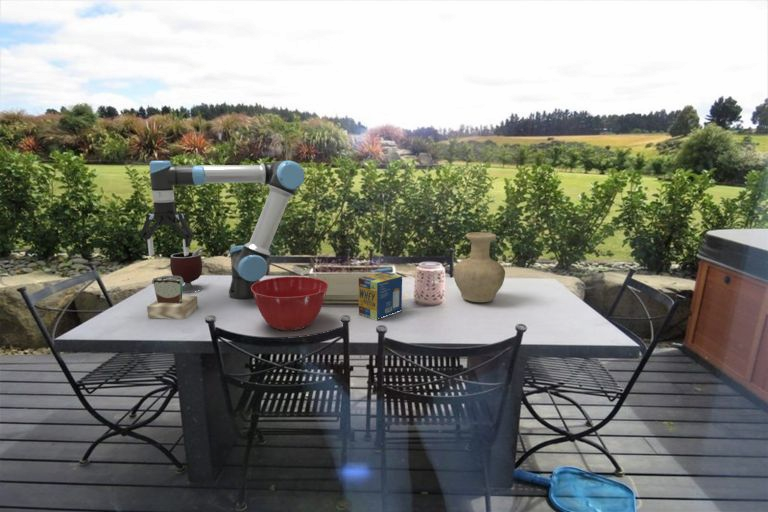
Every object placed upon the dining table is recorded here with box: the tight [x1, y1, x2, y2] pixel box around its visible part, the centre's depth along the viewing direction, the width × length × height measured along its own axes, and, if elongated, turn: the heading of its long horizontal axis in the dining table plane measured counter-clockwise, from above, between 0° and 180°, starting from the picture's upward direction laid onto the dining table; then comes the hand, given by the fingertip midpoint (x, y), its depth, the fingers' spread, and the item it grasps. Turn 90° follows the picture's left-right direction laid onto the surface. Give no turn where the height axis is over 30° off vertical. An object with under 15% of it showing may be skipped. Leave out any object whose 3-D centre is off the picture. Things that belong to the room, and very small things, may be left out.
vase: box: [453, 231, 506, 303], centre depth 201 cm, size 22×22×30 cm
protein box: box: [358, 271, 403, 320], centre depth 184 cm, size 10×15×16 cm
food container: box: [151, 275, 185, 304], centre depth 182 cm, size 12×6×10 cm, turn 86°
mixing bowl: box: [251, 276, 329, 331], centre depth 171 cm, size 28×28×16 cm
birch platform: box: [146, 295, 199, 320], centre depth 183 cm, size 14×14×5 cm
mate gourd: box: [169, 246, 204, 294], centre depth 215 cm, size 16×14×20 cm
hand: (169, 255), depth 179 cm, fingers open, 13 cm apart
